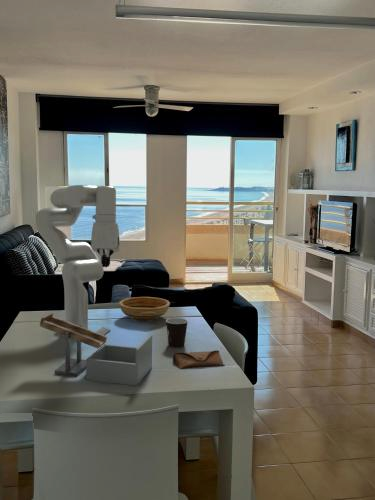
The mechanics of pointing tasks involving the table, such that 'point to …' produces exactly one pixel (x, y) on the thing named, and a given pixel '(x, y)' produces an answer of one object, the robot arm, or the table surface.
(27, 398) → the table surface
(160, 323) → the table surface
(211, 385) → the table surface
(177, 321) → the coffee mug
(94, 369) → the bin
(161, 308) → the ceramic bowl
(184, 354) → the sunglasses case
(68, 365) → the launcher stand
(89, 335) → the chute
